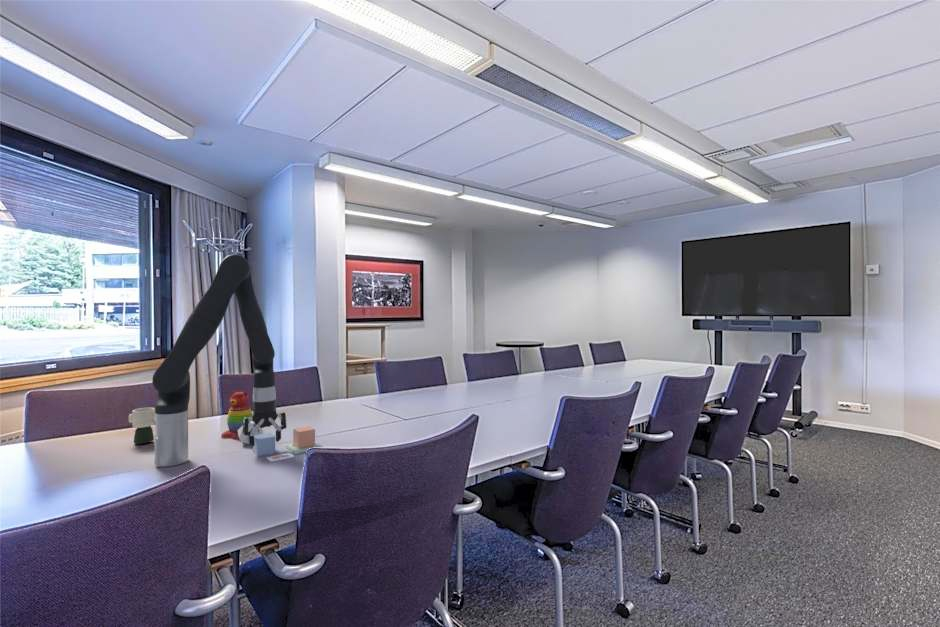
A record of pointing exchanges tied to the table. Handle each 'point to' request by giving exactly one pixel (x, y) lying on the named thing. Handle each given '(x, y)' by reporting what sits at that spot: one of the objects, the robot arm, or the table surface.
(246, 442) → the die
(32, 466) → the table surface
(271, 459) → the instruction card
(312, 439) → the brick terracotta
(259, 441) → the brick blue
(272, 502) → the table surface
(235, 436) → the stacking bear
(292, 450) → the baseplate
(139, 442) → the character mug
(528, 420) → the table surface
